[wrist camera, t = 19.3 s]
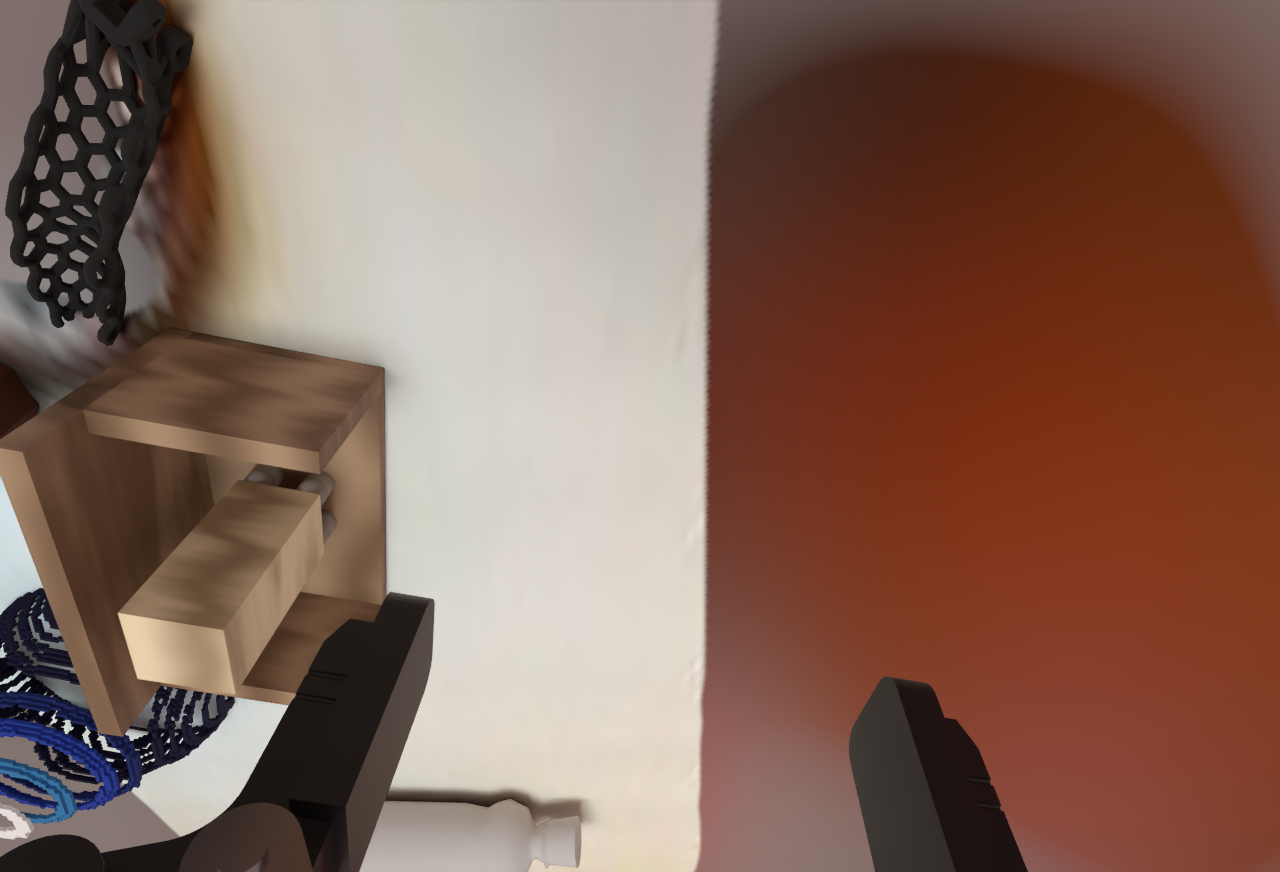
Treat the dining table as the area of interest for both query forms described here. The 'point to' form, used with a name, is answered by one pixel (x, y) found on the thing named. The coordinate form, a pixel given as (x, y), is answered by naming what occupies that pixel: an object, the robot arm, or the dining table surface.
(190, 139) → the dining table surface
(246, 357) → the peg frame
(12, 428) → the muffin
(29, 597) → the decorative bowl
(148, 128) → the decorative element
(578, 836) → the bottle
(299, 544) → the oak shelf block
